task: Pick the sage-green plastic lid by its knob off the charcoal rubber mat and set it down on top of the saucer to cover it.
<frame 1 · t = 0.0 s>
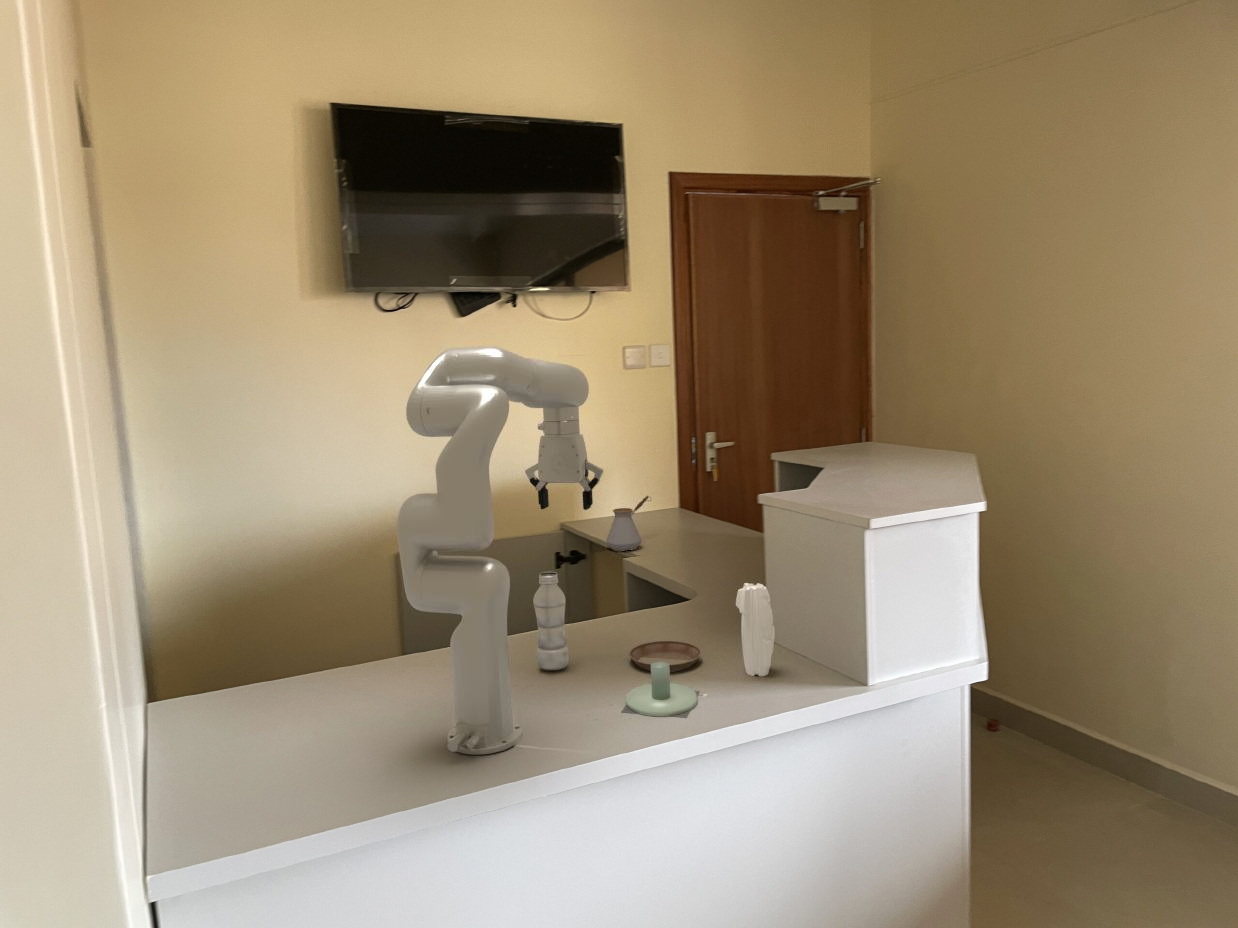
hand: (565, 508, 188), 31 cm above the counter, fingers open, 9 cm apart
coffee pot: (632, 546, 287), on the counter
saucer: (665, 665, 181), on the counter
mat: (661, 703, 161), on the counter
plastic bottle: (553, 669, 181), on the counter
lid: (661, 701, 161), resting on mat
lumpy white ridged column: (756, 674, 173), on the counter
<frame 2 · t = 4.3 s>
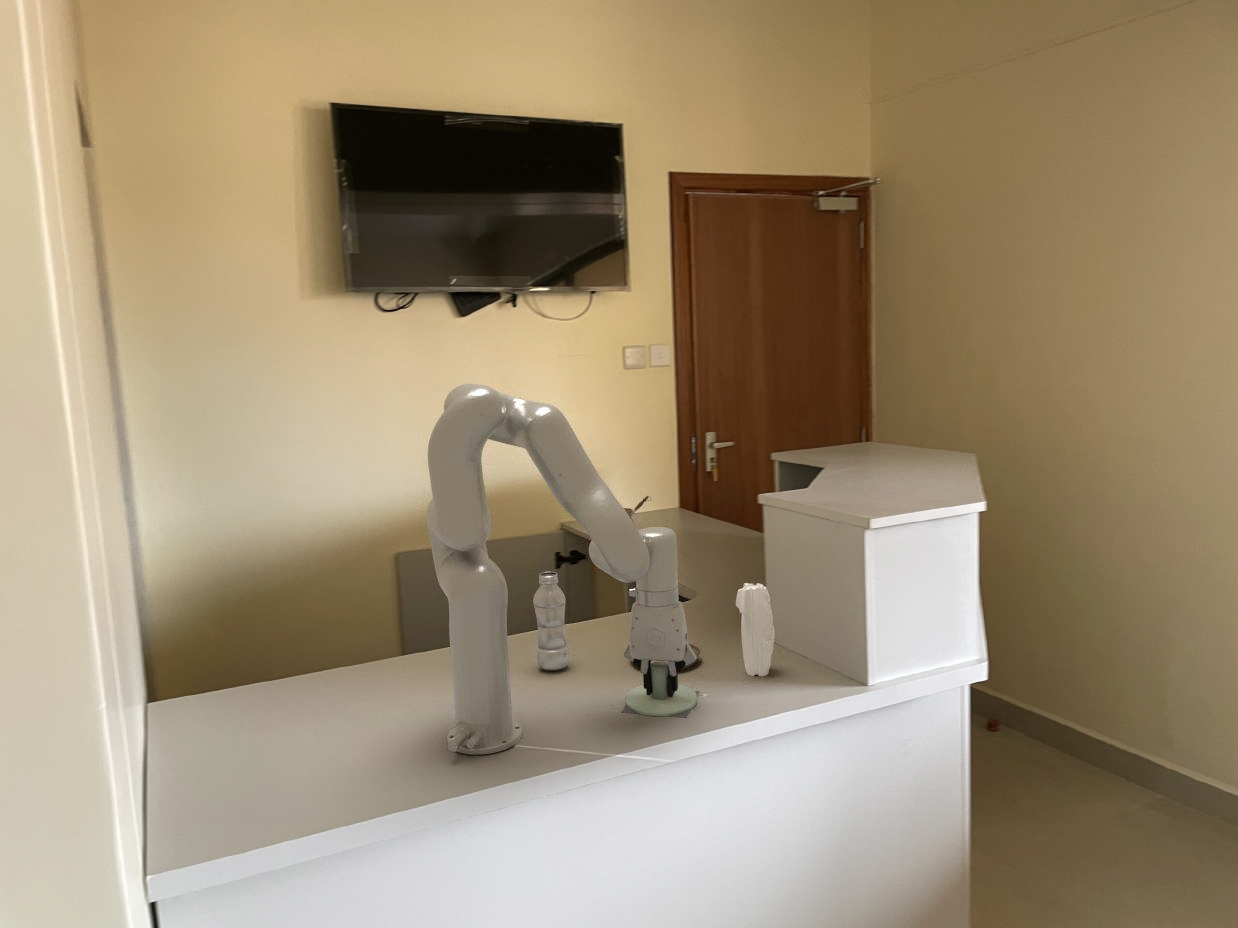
hand: (661, 692, 161), 2 cm above the counter, fingers closed on lid, 3 cm apart
lid: (661, 701, 161), resting on mat, touching gripper
everything else where it was.
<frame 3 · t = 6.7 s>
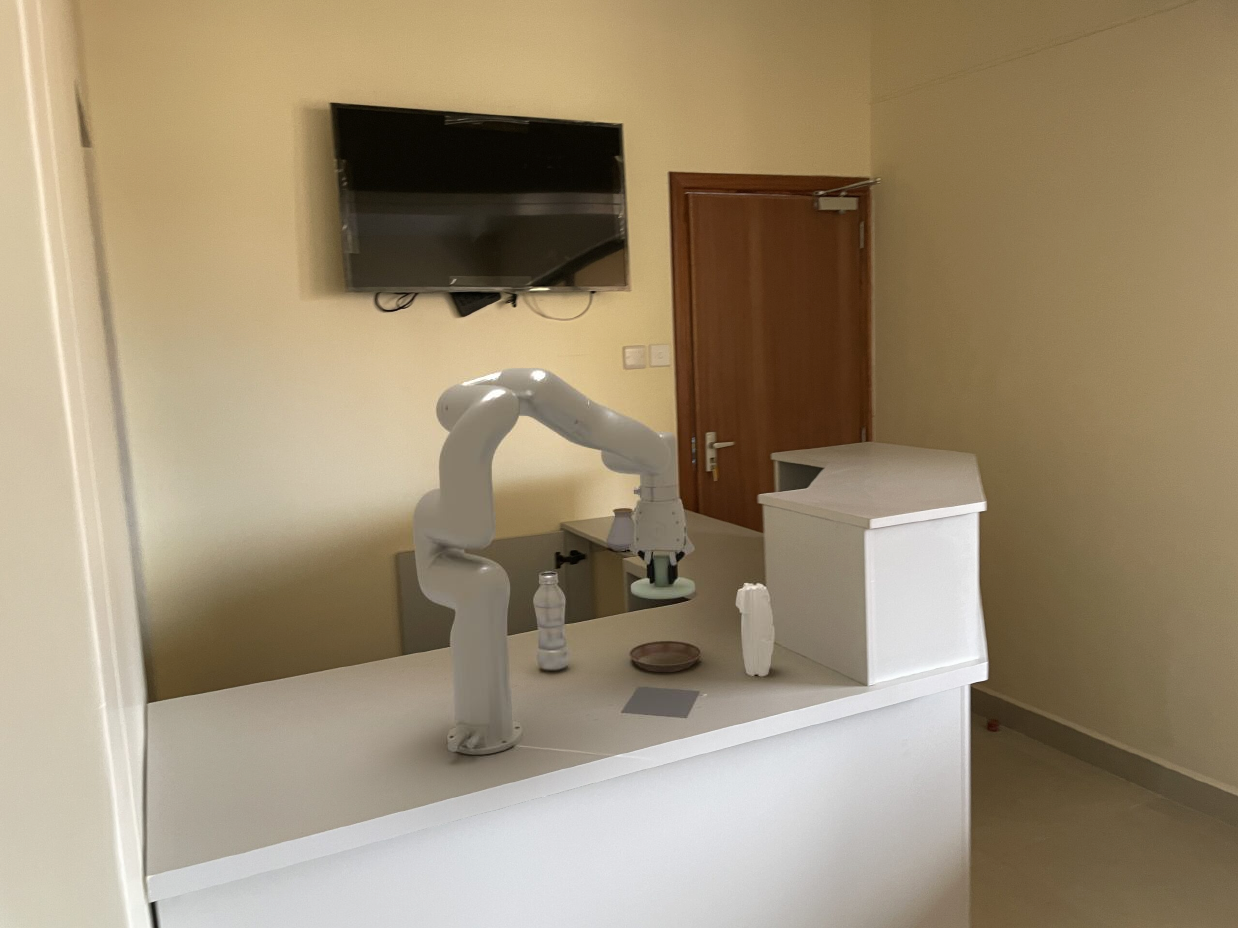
hand: (662, 581, 179), 17 cm above the counter, fingers closed on lid, 3 cm apart
lid: (662, 589, 179), point 16 cm above the counter, touching gripper
everything else where it was.
when the fingers open (7 cm above the counter, at t = 9.3 s): lid drops 3 cm, resting on saucer.
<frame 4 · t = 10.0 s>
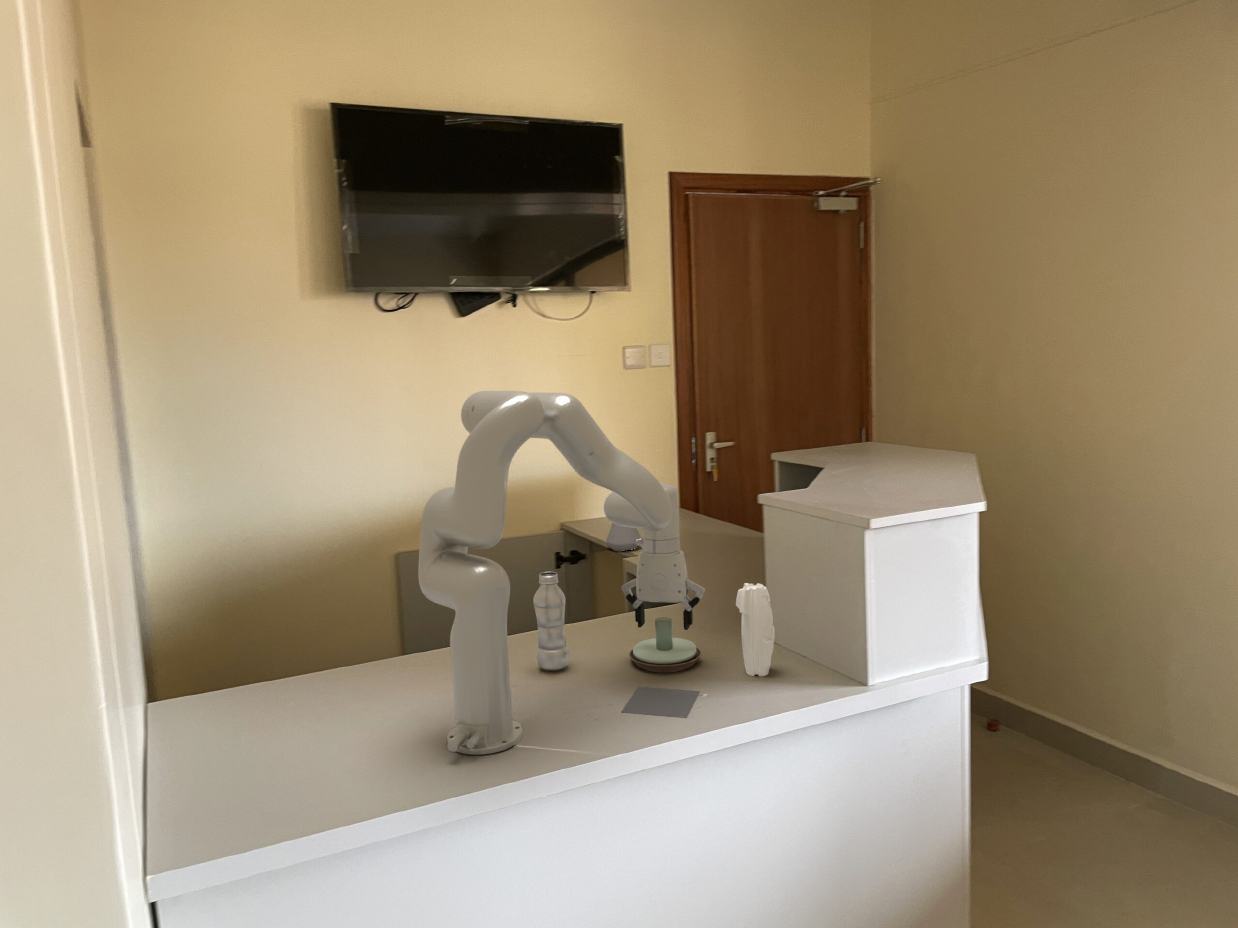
hand: (664, 626, 180), 8 cm above the counter, fingers open, 9 cm apart
saucer: (665, 665, 181), on the counter, touching lid
lid: (664, 652, 181), point 2 cm above the counter, touching saucer
everything else where it was.
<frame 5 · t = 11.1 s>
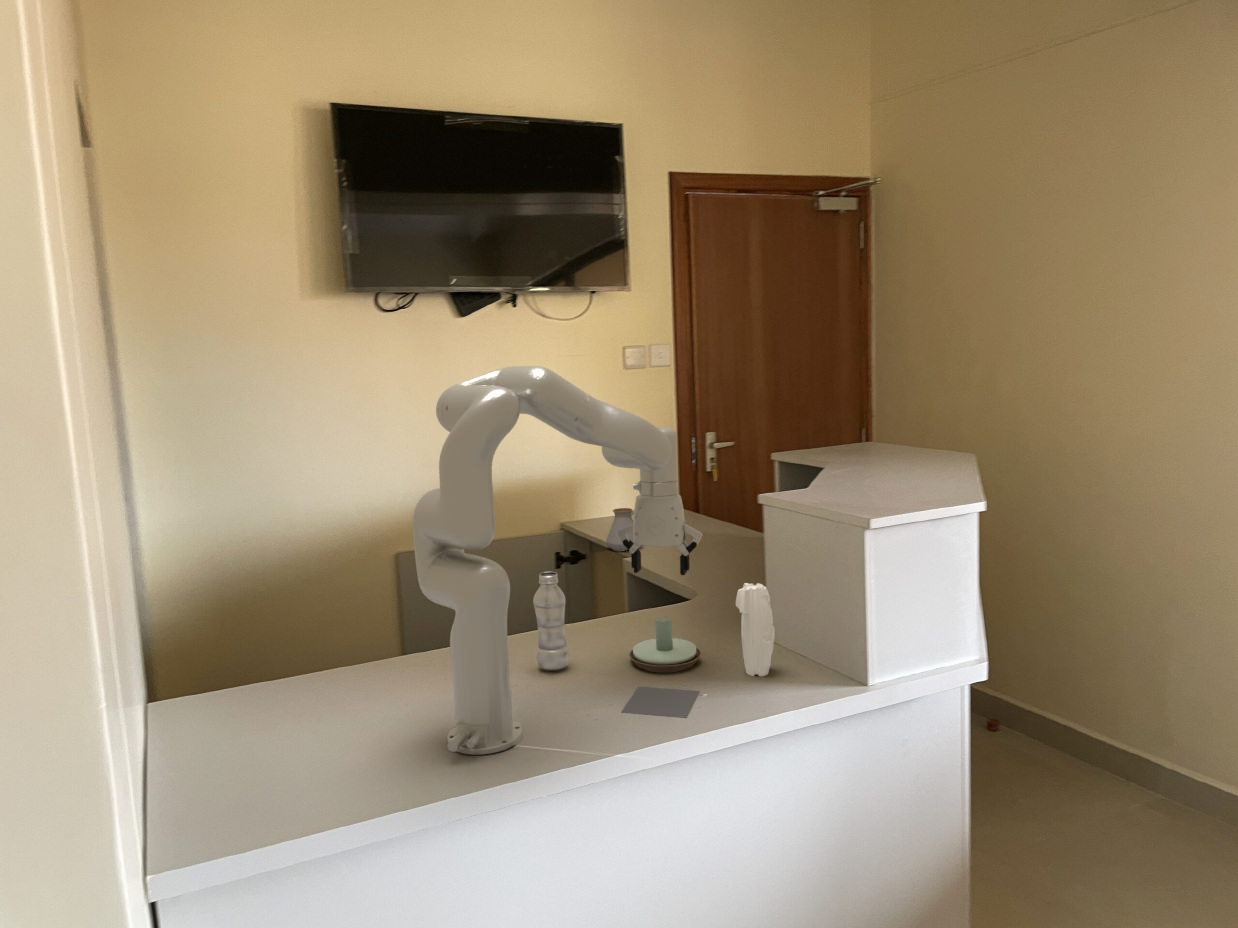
hand: (660, 572, 178), 19 cm above the counter, fingers open, 9 cm apart
nothing on the counter moved.
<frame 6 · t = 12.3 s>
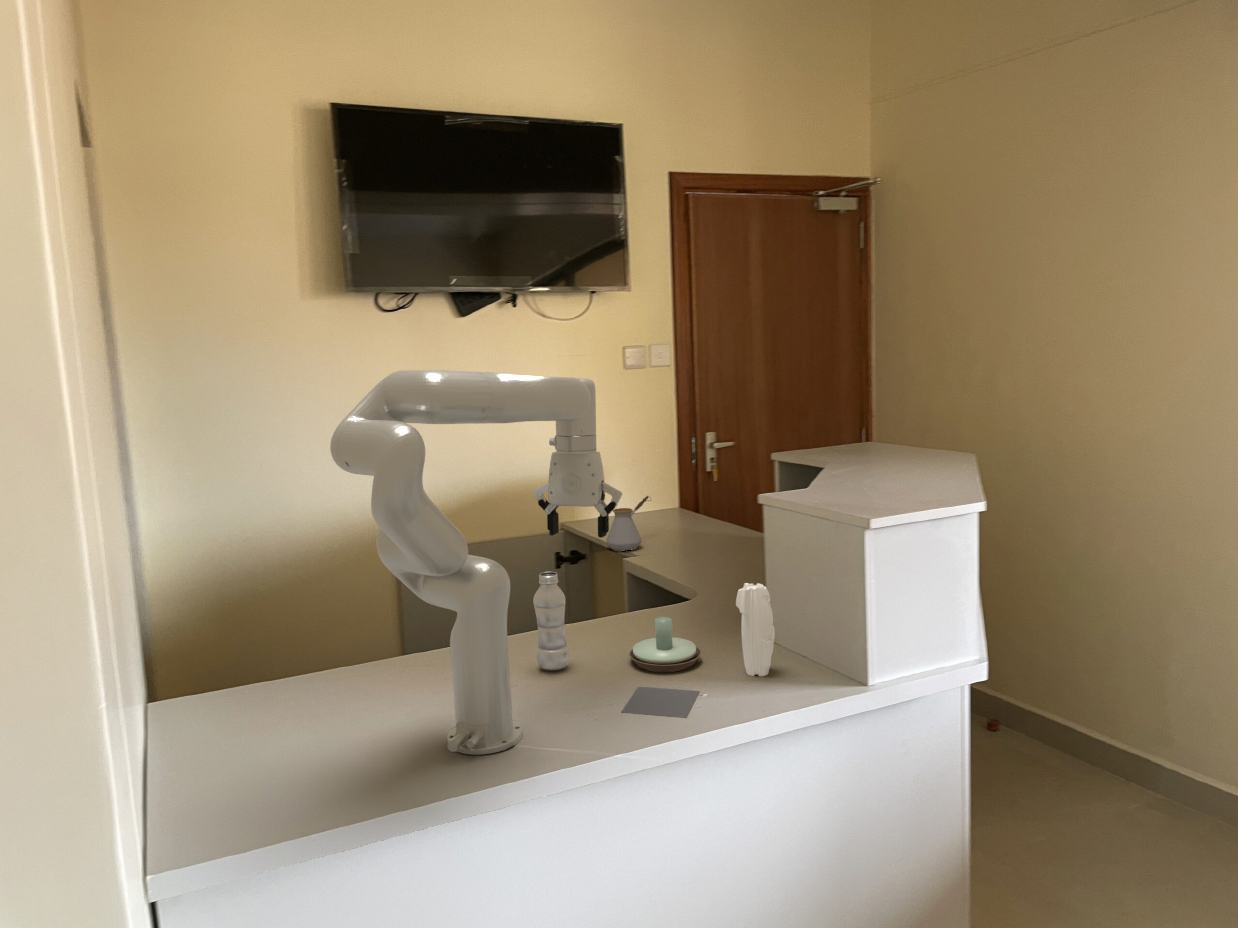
hand: (578, 535, 165), 30 cm above the counter, fingers open, 9 cm apart
nothing on the counter moved.
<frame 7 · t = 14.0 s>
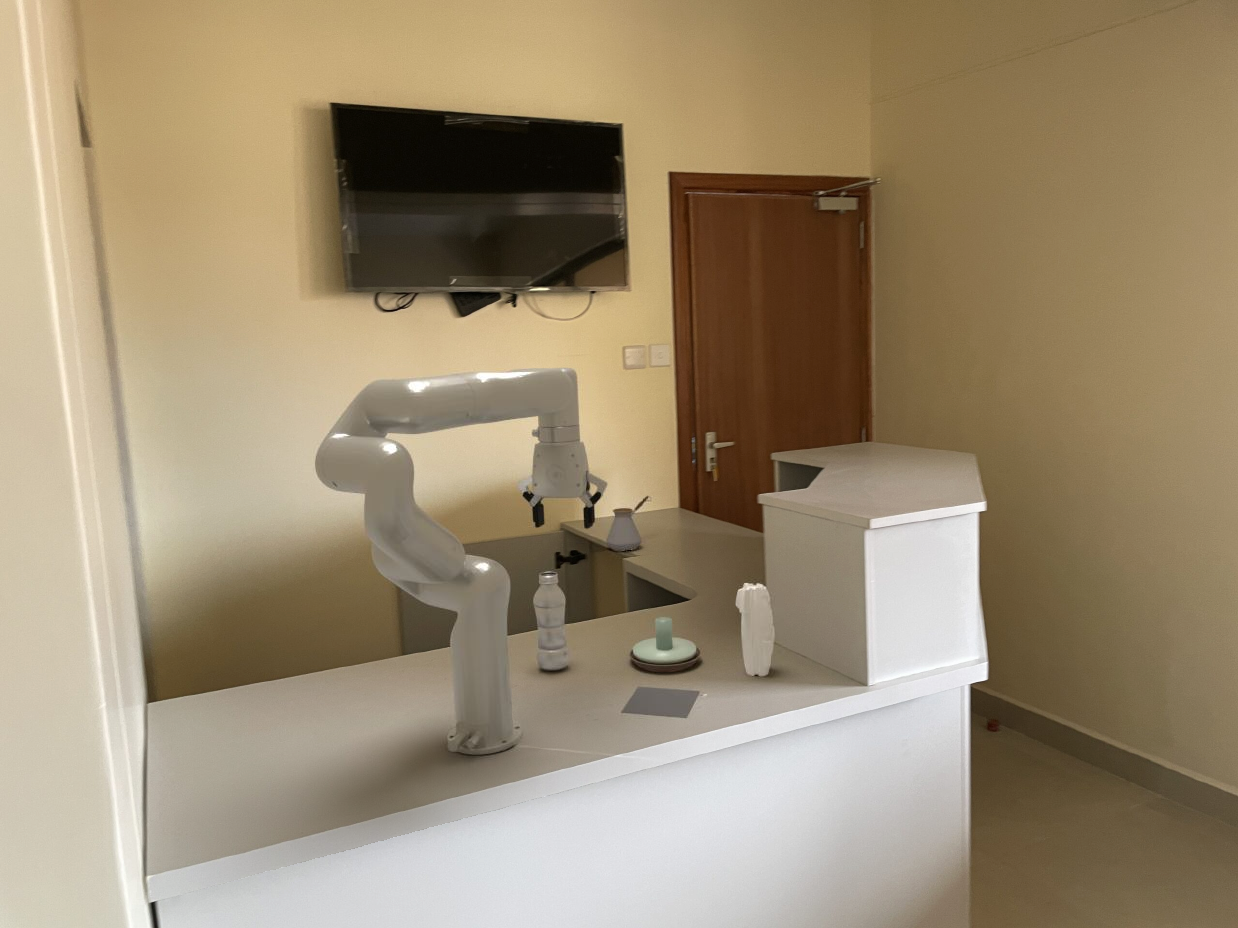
hand: (564, 526, 164), 32 cm above the counter, fingers open, 9 cm apart
nothing on the counter moved.
at the end: lid inside the target area on the saucer (0.1 cm from its centre), point 2.9 cm above the saucer's base; lid tilted 0°; saucer moved 0.6 cm from its start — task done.
